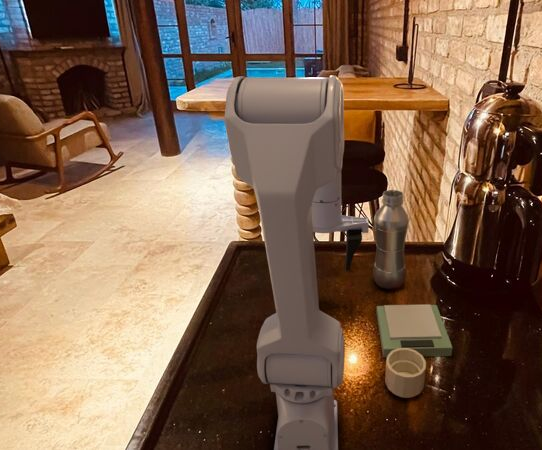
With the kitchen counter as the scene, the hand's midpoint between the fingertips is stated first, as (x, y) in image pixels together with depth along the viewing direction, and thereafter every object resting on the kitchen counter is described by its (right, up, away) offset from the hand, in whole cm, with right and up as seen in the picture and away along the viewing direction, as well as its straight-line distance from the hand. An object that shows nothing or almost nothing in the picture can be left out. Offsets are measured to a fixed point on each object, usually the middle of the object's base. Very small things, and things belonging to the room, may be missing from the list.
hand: (325, 268), depth 71 cm
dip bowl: (+12, -16, -11) cm, 23 cm away
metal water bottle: (+13, -5, +12) cm, 18 cm away
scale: (+15, -11, -1) cm, 19 cm away
